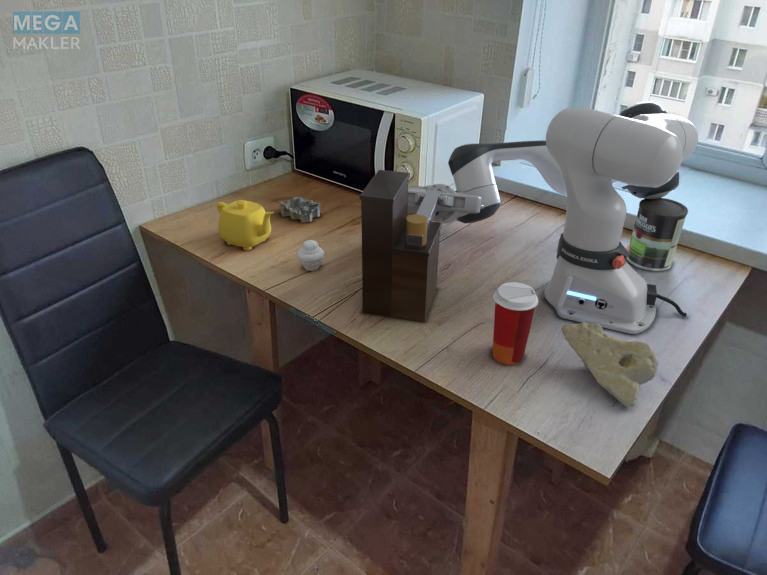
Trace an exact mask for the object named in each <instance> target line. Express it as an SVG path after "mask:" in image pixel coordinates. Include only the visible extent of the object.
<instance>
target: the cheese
mask: <svg viewBox="0 0 767 575" xmlns="http://www.w3.org/2000/svg"><path fill="white" fill-rule="evenodd" d="M600 325H603V324H597V323H594V324H589V323H585V322H582V323H581V322H580V323H569V324H565V325H563V326H561V332H562V335H563V338H564V340H565V341H566V342H567V343H568V344H569V346H570V347H571V349H572V350H573V351H574V352H575V354H576V355H577V356H578V357H579V358H580V360H581V363H583V366H584V368H585V369H586V370H589V371H590V373H591V375H592V376H593V377H594V378H595V380H596V383H598V384H599V385H600V387H602V388H604V389H605V390H606V391H607V393H608V394H610V395H611V396H613V397H614V398H615V399H616V400H617V401H618V402H620V404H621V405H622V406H624V407H628V408H629V407H631V408H632V407H634V406H635V403H636V402H637V399H638V396H639V391H640V385H643V384H647V383H648V382H650V381H652V380H653V379H654V378H655V377H656V374H657V371H658V368H659V364H660V362H659V359H658V356H657V355H656V352H655V351H654V349H653V348H652V347H651V345H649V343H647V342H644V341H641V340H631V341H628V340H620V339H618V338H616V337H614V336H611V335H610V334H607V333H604V329H603V327H601V326H600Z"/></svg>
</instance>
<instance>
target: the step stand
mask: <svg viewBox="0 0 767 575" xmlns="http://www.w3.org/2000/svg"><path fill="white" fill-rule="evenodd" d="M410 177H411V172H404V171H394V170H385V169H378V170H377V171H376V173H375V174H374V176H373V177H372V178H371V179H370V181H369V182H368V184H367V185H366V187H365V188H364V189H363V191H362V192H361V193H360V195H359V200H360V214H361V215H360V216H361V217H360V218H361V219H360V220H361V285H362V286H361V289H362V290H361V291H362V297H361V298H362V300H361V301H362V313H363V314H369V315H374V316H382V317H388V318H395V319H401V320H407V321H414V322H421V323H426V319H427V317H428V314H429V312H430V308H431V305H432V303H433V300H434V297H435V294H436V292H437V287H438V286H437V284H438V272H439V257H440V256H439V254H440V240H441V239H440V238H441V235H440V234H441V229H442V226H443V224H442V223H440V222H434V221H432V224H431V226H430V229H429V231H428V234H427V242H426V244H425V245H424V246H422V248H419V247H410V246H406V218H407V217H408V214H407V209H408V186H409V179H410Z"/></svg>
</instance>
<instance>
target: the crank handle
mask: <svg viewBox="0 0 767 575" xmlns="http://www.w3.org/2000/svg"><path fill="white" fill-rule="evenodd" d="M440 195H441V191H438V190H427V192H426V194H425V197H424V199H423V201H422V203H421V205H420V207H419V209H418V211H417V214H413V215H409V214H408V215H407V218H406V246H410V247H419V248H422V246H424V245H425V244H426V242H427V234H428V231H429V229H430V226H431V224H432V222H434V221H433V219H434V217H435V214H436V212H437V209H438V207H439V200H440V199H439V196H440Z"/></svg>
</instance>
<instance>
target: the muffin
mask: <svg viewBox="0 0 767 575" xmlns="http://www.w3.org/2000/svg"><path fill="white" fill-rule="evenodd" d="M324 257H325V250H324V249H323V248H321V247H320V246H319V243H318V242H317V241H316V240H314V239H308V240H304V242H302V245H301V247H300V249H298V251H297V252H296V258H297V259H298V262H299V263H300V264H301V266H302V267H303V269H305V270H306V271H309V272H313V271H316V270H318V269H319V268H320V266H321V264H322V263H323V260H324Z"/></svg>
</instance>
